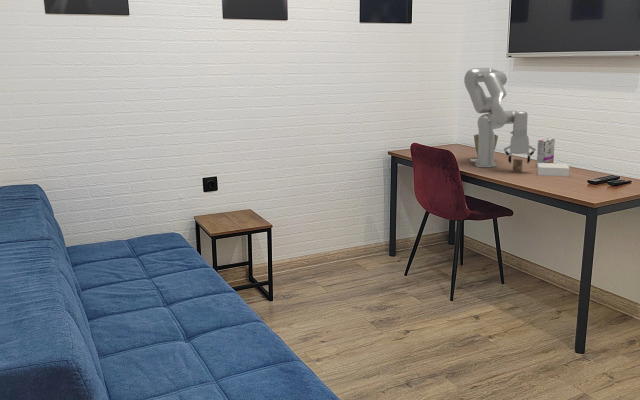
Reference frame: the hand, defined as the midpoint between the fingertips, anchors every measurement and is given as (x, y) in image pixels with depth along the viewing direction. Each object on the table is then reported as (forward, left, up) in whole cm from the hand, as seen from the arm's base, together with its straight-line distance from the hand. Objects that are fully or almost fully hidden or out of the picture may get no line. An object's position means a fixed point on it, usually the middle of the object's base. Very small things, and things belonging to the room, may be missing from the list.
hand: (519, 163), depth 336 cm
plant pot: (-22, +36, -6) cm, 42 cm away
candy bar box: (+14, +21, -6) cm, 26 cm away
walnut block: (-1, +1, -5) cm, 5 cm away
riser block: (+18, +1, -6) cm, 19 cm away
